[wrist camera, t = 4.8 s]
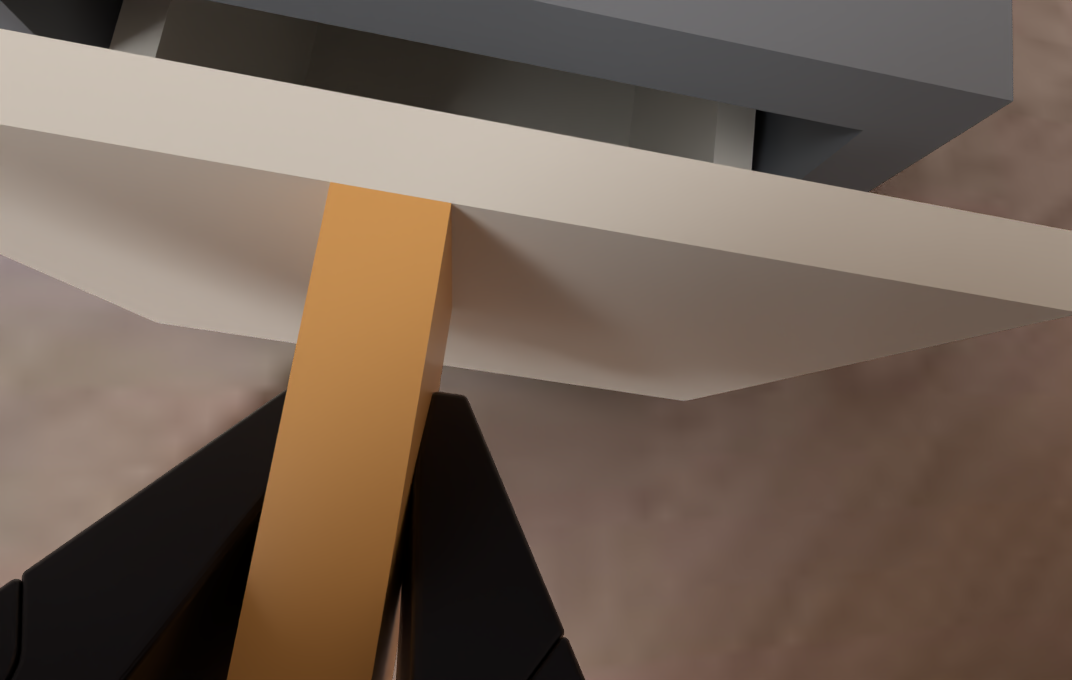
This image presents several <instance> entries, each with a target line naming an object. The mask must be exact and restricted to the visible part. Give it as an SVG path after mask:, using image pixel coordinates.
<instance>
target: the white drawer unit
mask: <svg viewBox="0 0 1072 680" xmlns="http://www.w3.org/2000/svg"><path fill="white" fill-rule="evenodd" d="M755 114H756V109H752V108H746V107H741V106H736V105H731V104H726V103H721V102H716V101H711V100H706V99H701V98H696V97H691V96H686V95H681V94H676V93H671V92H666V91H661V90H656V89H651V88H646V87H641V86H636V85H631V84H626V83H621V82H616V81H611V80H606V79H601V78H596V77H591V76H586V75H581V74H576V73H571V72H566V71H561V70H556V69H551V68H546V67H541V66H536V65H530V64H525V63H520V62H515V61H510V60H505V59H500V58H495V57H490V56H485V55H480V54H475V53H470V52H465V51H460V50H455V49H450V48H445V47H440V46H435V45H430V44H425V43H420V42H415V41H410V40H405V39H400V38H395V37H390V36H385V35H380V34H375V33H370V32H365V31H360V30H355V29H350V28H345V27H340V26H335V25H330V24H325V23H320V22H315V21H309V20H304V19H299V18H294V17H289V16H284V15H279V14H274V13H269V12H264V11H259V10H254V9H249V8H244V7H239V6H234V5H229V4H224V3H219V2H214V1H209V0H123V3H122V6H121V10H120V13H119V17H118V20H117V23H116V27H115V30H114V34H113V37H112V41H111V44H110V47H109V49H106V48H100V47H95V46H90V45H85V44H79V43H74V42H69V41H63V40H58V39H53V38H47V37H42V36H37V35H32V34H26V33H21V32H16V31H10V30H5V29H0V254H1V255H3V256H5V257H8V258H10V259H12V260H15V261H17V262H19V263H21V264H24V265H26V266H28V267H31V268H33V269H35V270H37V271H40V272H42V273H44V274H47V275H49V276H51V277H53V278H56V279H58V280H60V281H63V282H65V283H67V284H69V285H72V286H74V287H76V288H79V289H81V290H83V291H85V292H88V293H90V294H92V295H95V296H97V297H99V298H101V299H104V300H106V301H108V302H111V303H113V304H115V305H117V306H120V307H122V308H124V309H127V310H129V311H131V312H133V313H136V314H138V315H140V316H143V317H145V318H147V319H149V320H152V321H154V322H156V323H162V324H169V325H175V326H182V327H189V328H196V329H202V330H209V331H216V332H222V333H229V334H236V335H243V336H249V337H256V338H263V339H270V340H276V341H283V342H290V343H297V344H296V349H295V353H294V358H293V363H292V368H291V373H290V378H289V382H288V387H287V392H286V397H285V402H284V406H283V411H282V416H281V421H280V426H279V431H278V435H277V440H276V445H275V450H274V455H273V459H272V464H271V469H270V474H269V479H268V483H267V488H266V493H265V498H264V503H263V508H262V512H261V517H260V522H259V527H258V532H257V536H256V541H255V546H254V551H253V556H252V561H251V565H250V570H249V575H248V580H247V585H246V589H245V594H244V599H243V604H242V609H241V613H240V618H239V623H238V628H237V633H236V638H235V642H234V647H233V652H232V657H231V662H230V666H229V671H228V676H227V680H392V677H393V671H394V665H395V659H396V652H397V646H398V636H399V619H400V601H401V588H402V578H403V568H404V559H405V550H406V541H407V531H408V522H409V513H410V504H411V494H412V485H413V476H414V469H415V464H416V460H417V456H418V451H419V447H420V443H421V439H422V435H423V431H424V427H425V422H426V418H427V414H428V410H429V406H430V402H431V398H432V394H433V393H434V392H439V387H440V381H441V374H442V368H443V365H445V366H452V367H458V368H465V369H472V370H479V371H485V372H492V373H499V374H506V375H512V376H519V377H526V378H532V379H539V380H546V381H553V382H559V383H566V384H573V385H580V386H586V387H593V388H600V389H607V390H613V391H620V392H627V393H634V394H640V395H647V396H654V397H661V398H667V399H674V400H681V401H688V400H692V399H697V398H701V397H706V396H710V395H715V394H719V393H724V392H729V391H733V390H738V389H742V388H747V387H751V386H756V385H760V384H765V383H769V382H774V381H778V380H783V379H787V378H792V377H796V376H801V375H805V374H810V373H814V372H819V371H823V370H828V369H832V368H837V367H842V366H846V365H851V364H855V363H860V362H864V361H869V360H873V359H878V358H882V357H887V356H891V355H896V354H900V353H905V352H909V351H914V350H918V349H923V348H927V347H932V346H936V345H941V344H945V343H950V342H955V341H959V340H964V339H968V338H973V337H977V336H982V335H986V334H991V333H995V332H1000V331H1004V330H1009V329H1013V328H1018V327H1022V326H1027V325H1031V324H1036V323H1040V322H1045V321H1049V320H1054V319H1058V318H1063V317H1068V316H1072V231H1070V230H1065V229H1060V228H1054V227H1049V226H1044V225H1038V224H1033V223H1028V222H1022V221H1017V220H1012V219H1007V218H1001V217H996V216H991V215H985V214H980V213H975V212H969V211H964V210H959V209H954V208H948V207H943V206H938V205H932V204H927V203H922V202H916V201H911V200H906V199H901V198H895V197H890V196H885V195H879V194H874V193H869V192H863V191H858V190H853V189H848V188H842V187H837V186H832V185H826V184H821V183H816V182H810V181H805V180H800V179H795V178H789V177H784V176H779V175H773V174H768V173H763V172H757V171H752V170H751V169H752V155H753V141H754V127H755Z"/></svg>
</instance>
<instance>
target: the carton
mask: <svg viewBox="0 0 1072 680" xmlns="http://www.w3.org/2000/svg"><path fill="white" fill-rule="evenodd" d="M209 1H214V2H219V3H224V4H229V5H234V6H239V7H244V8H249V9H254V10H259V11H264V12H269V13H274V14H279V15H284V16H289V17H294V18H299V19H304V20H309V21H315V22H320V23H325V24H330V25H335V26H340V27H345V28H350V29H355V30H360V31H365V32H370V33H375V34H380V35H385V36H390V37H395V38H400V39H405V40H410V41H415V42H420V43H425V44H430V45H435V46H440V47H445V48H450V49H455V50H460V51H465V52H470V53H475V54H480V55H485V56H490V57H495V58H500V59H505V60H510V61H515V62H520V63H525V64H530V65H536V66H541V67H546V68H551V69H556V70H561V71H566V72H571V73H576V74H581V75H586V76H591V77H596V78H601V79H606V80H611V81H616V82H621V83H626V84H631V85H636V86H641V87H646V88H651V89H656V90H661V91H666V92H671V93H676V94H681V95H686V96H691V97H696V98H701V99H706V100H711V101H716V102H721V103H726V104H731V105H736V106H741V107H746V108H752V109H756V114H755V127H754V141H753V155H752V169H751V170H752V171H757V172H763V173H768V174H773V175H779V176H784V177H789V178H795V179H800V180H805V181H810V182H816V183H821V184H826V185H832V186H837V187H842V188H848V189H853V190H858V191H863V192H869V191H871V190H872V189H874V188H875V187H877V186H879V185H880V184H882V183H883V182H885V181H887V180H888V179H890V178H891V177H893V176H895V175H896V174H898V173H899V172H901V171H902V170H904V169H906V168H907V167H909V166H910V165H912V164H914V163H915V162H917V161H918V160H920V159H922V158H923V157H925V156H926V155H928V154H930V153H931V152H933V151H934V150H936V149H938V148H939V147H941V146H942V145H944V144H945V143H947V142H949V141H950V140H952V139H953V138H955V137H957V136H958V135H960V134H961V133H963V132H965V131H966V130H968V129H969V128H971V127H973V126H974V125H976V124H977V123H979V122H981V121H982V120H984V119H985V118H987V117H989V116H990V115H992V114H993V113H995V112H996V111H998V110H1000V109H1001V108H1003V107H1004V106H1006V105H1008V104H1009V103H1011V102H1012V101H1013V40H1012V0H209ZM122 3H123V0H0V29H5V30H10V31H16V32H21V33H26V34H32V35H37V36H42V37H47V38H53V39H58V40H63V41H69V42H74V43H79V44H85V45H90V46H95V47H100V48H106V49H109V47H110V44H111V41H112V37H113V34H114V30H115V27H116V23H117V20H118V17H119V13H120V10H121V6H122Z"/></svg>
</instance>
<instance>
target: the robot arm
mask: <svg viewBox="0 0 1072 680" xmlns="http://www.w3.org/2000/svg"><path fill="white" fill-rule="evenodd" d="M286 392H287V389H286V390H284V391H283V392H282V393H280V394H279V395H277V396H276V397H274V398H273V399H272V400H270V401H269V402H267V403H266V404H264V405H263V406H261V407H260V408H259V409H257V410H256V411H254V412H253V413H251V414H250V415H249V416H247V417H246V418H244V419H243V420H241V421H240V422H238V423H237V424H236V425H234V426H233V427H231V428H230V429H228V430H227V431H226V432H224V433H223V434H221V435H220V436H218V437H217V438H216V439H214V440H213V441H211V442H210V443H208V444H207V445H205V446H204V447H203V448H201V449H200V450H198V451H197V452H195V453H194V454H193V455H191V456H190V457H188V458H187V459H185V460H184V461H183V462H181V463H180V464H178V465H177V466H175V467H174V468H172V469H171V470H170V471H168V472H167V473H165V474H164V475H162V476H161V477H160V478H158V479H157V480H155V481H154V482H152V483H151V484H150V485H148V486H147V487H145V488H144V489H142V490H141V491H139V492H138V493H137V494H135V495H134V496H132V497H131V498H129V499H128V500H127V501H125V502H124V503H122V504H121V505H119V506H118V507H117V508H115V509H114V510H112V511H111V512H109V513H108V514H106V515H105V516H104V517H102V518H101V519H99V520H98V521H96V522H95V523H94V524H92V525H91V526H89V527H88V528H86V529H85V530H84V531H82V532H81V533H79V534H78V535H76V536H75V537H73V538H72V539H71V540H69V541H68V542H66V543H65V544H63V545H62V546H61V547H59V548H58V549H56V550H55V551H53V552H52V553H51V554H49V555H48V556H46V557H45V558H43V559H42V560H40V561H39V562H38V563H36V564H35V565H33V566H32V567H30V568H29V569H28V570H26V571H25V572H24V573H23V575H22V581H21V580H19V579H14V580H11V581H10V582H8V583H7V584H5V585H4V586H3V587H1V588H0V680H227V676H228V671H229V666H230V662H231V657H232V652H233V647H234V642H235V638H236V633H237V628H238V623H239V618H240V613H241V609H242V604H243V599H244V594H245V589H246V585H247V580H248V575H249V570H250V565H251V561H252V556H253V551H254V546H255V541H256V536H257V532H258V527H259V522H260V517H261V512H262V508H263V503H264V498H265V493H266V488H267V483H268V479H269V474H270V469H271V464H272V459H273V455H274V450H275V445H276V440H277V435H278V431H279V426H280V421H281V416H282V411H283V406H284V402H285V397H286ZM563 635H564V629H563V626H562V624H561V622H560V619H559V617H558V614H557V612H556V610H555V607H554V605H553V602H552V600H551V598H550V595H549V593H548V590H547V588H546V586H545V583H544V581H543V578H542V576H541V574H540V571H539V569H538V566H537V564H536V562H535V559H534V557H533V554H532V552H531V550H530V547H529V545H528V542H527V540H526V538H525V535H524V533H523V530H522V528H521V526H520V523H519V521H518V518H517V516H516V514H515V511H514V509H513V506H512V504H511V502H510V499H509V497H508V494H507V492H506V490H505V487H504V485H503V482H502V480H501V478H500V475H499V473H498V470H497V468H496V466H495V463H494V461H493V458H492V456H491V454H490V451H489V449H488V446H487V444H486V442H485V439H484V437H483V434H482V432H481V430H480V427H479V425H478V422H477V420H476V418H475V415H474V413H473V410H472V408H471V406H470V403H469V401H468V399H467V398H466V397H465V396H463V395H458V394H451V393H444V392H434V393H433V394H432V398H431V402H430V406H429V410H428V414H427V418H426V422H425V427H424V431H423V435H422V439H421V443H420V447H419V451H418V456H417V460H416V464H415V469H414V476H413V485H412V494H411V504H410V513H409V522H408V531H407V541H406V550H405V559H404V568H403V578H402V588H401V601H400V619H399V636H398V654H397V672H396V680H585V678H584V676H583V674H582V671H581V669H580V666H579V664H578V661H577V659H576V657H575V654H574V652H573V649H572V647H571V645H570V642H569V640H568V639H567V638H565V637H563Z"/></svg>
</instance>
